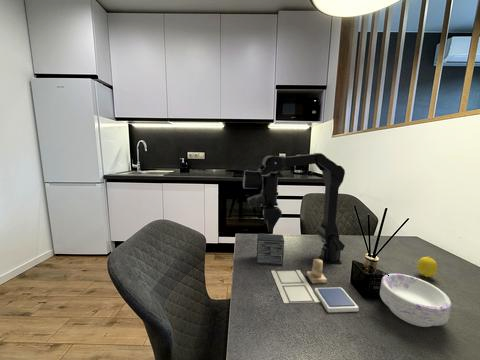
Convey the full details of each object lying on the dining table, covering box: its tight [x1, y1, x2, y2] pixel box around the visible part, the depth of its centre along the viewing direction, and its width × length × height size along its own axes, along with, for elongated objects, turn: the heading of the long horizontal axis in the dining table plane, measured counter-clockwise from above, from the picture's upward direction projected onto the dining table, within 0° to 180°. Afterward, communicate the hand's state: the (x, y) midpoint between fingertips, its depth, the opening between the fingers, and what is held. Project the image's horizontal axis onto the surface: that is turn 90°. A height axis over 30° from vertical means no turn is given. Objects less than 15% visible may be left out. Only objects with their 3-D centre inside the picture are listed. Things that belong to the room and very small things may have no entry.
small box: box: [255, 233, 285, 267], centre depth 87 cm, size 11×6×10 cm, turn 84°
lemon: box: [417, 256, 438, 278], centre depth 80 cm, size 6×6×8 cm
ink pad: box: [314, 286, 360, 313], centre depth 66 cm, size 9×9×2 cm
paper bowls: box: [379, 273, 453, 328], centre depth 61 cm, size 15×15×8 cm
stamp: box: [306, 258, 328, 285], centre depth 76 cm, size 5×5×7 cm
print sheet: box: [270, 269, 321, 305], centre depth 73 cm, size 11×17×1 cm, turn 5°
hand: (268, 227), depth 85 cm, fingers open, 9 cm apart
